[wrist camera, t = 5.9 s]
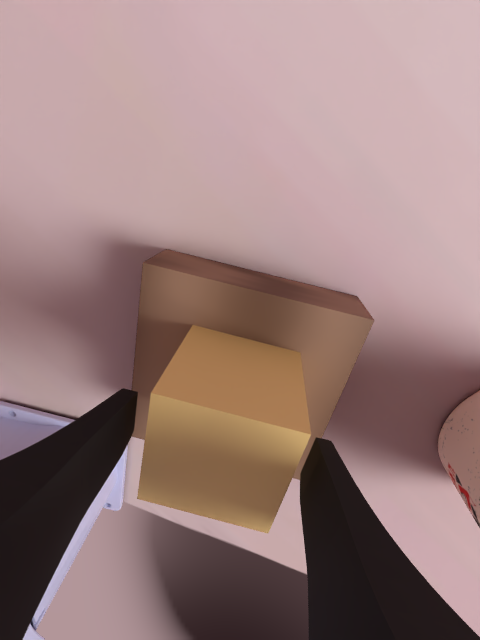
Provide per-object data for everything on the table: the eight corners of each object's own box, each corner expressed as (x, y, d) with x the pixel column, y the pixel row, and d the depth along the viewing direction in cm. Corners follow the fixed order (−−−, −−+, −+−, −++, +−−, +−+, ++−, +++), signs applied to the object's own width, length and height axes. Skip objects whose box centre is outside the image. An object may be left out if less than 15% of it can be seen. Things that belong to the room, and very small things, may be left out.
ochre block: (177, 409, 16) (137, 498, 11) (192, 324, 14) (150, 393, 9) (270, 433, 16) (267, 533, 11) (300, 352, 14) (311, 434, 9)
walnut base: (148, 400, 20) (127, 435, 17) (166, 249, 16) (142, 262, 13) (299, 439, 20) (302, 480, 17) (357, 296, 16) (374, 320, 13)
